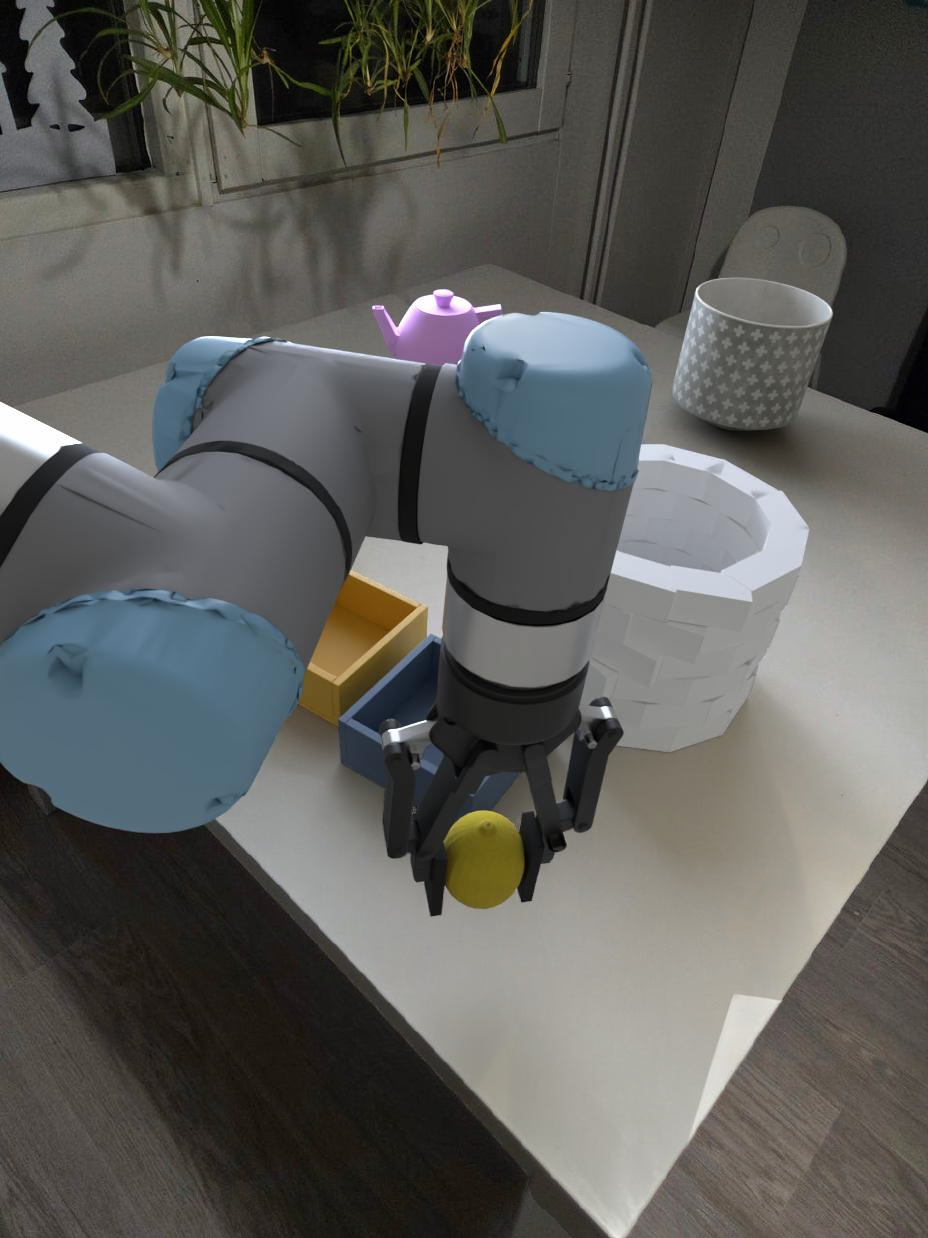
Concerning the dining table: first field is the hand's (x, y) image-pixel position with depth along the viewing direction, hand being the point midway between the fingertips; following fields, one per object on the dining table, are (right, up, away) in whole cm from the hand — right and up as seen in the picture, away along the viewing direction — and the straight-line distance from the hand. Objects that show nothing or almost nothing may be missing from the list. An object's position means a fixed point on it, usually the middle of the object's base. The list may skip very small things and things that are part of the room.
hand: (477, 890), depth 56 cm
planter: (+40, +50, +72) cm, 96 cm away
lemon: (0, 0, 0) cm, 1 cm away
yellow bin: (-14, +15, +26) cm, 33 cm away
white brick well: (+16, +13, +28) cm, 35 cm away
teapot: (-5, +60, +80) cm, 100 cm away
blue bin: (-2, +7, +18) cm, 20 cm away
